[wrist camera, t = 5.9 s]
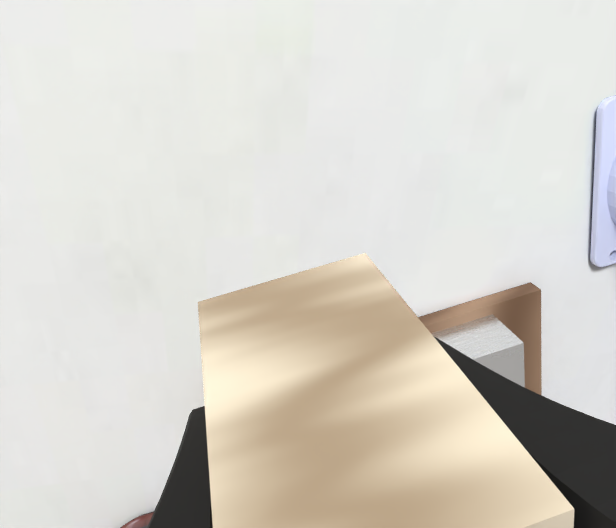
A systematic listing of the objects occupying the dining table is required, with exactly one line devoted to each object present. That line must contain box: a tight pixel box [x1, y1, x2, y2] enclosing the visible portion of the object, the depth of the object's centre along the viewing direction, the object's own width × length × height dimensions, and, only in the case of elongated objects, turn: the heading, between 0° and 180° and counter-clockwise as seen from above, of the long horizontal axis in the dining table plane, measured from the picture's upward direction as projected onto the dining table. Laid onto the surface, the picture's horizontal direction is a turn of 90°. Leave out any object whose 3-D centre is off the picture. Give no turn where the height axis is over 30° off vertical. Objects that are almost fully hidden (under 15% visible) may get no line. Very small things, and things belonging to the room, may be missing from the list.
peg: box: [198, 253, 574, 528], centre depth 11 cm, size 4×4×8 cm
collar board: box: [418, 282, 541, 395], centre depth 26 cm, size 16×12×3 cm
